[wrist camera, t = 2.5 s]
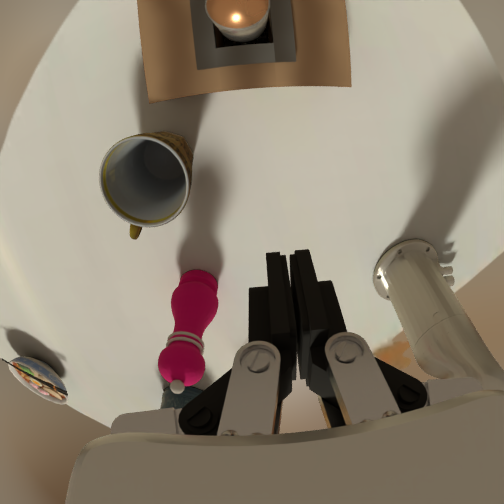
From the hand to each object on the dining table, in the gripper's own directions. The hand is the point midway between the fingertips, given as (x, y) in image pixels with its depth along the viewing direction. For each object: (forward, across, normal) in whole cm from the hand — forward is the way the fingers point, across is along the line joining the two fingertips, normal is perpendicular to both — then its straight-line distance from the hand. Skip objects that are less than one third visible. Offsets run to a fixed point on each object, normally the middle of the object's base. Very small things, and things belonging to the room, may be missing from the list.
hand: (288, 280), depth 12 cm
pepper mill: (+27, +12, +23) cm, 37 cm away
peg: (+21, +1, -13) cm, 25 cm away
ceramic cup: (+27, +13, +2) cm, 30 cm away
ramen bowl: (+27, +73, +54) cm, 95 cm away
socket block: (+27, +1, -13) cm, 30 cm away
